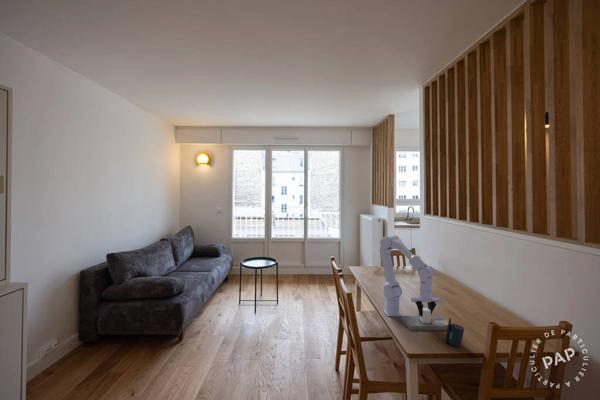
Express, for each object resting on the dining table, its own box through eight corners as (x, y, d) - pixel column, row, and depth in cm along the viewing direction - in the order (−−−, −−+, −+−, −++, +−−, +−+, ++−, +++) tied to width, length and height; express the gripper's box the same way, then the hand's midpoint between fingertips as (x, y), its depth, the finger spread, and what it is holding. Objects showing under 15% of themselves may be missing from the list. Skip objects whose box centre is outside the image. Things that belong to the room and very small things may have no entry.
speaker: (441, 342, 138) (444, 320, 137) (445, 338, 142) (448, 317, 141) (458, 350, 132) (462, 327, 132) (463, 346, 137) (466, 323, 136)
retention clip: (419, 317, 161) (420, 306, 161) (417, 315, 163) (417, 305, 163) (437, 315, 164) (438, 304, 164) (435, 313, 166) (435, 303, 166)
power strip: (400, 319, 163) (400, 314, 163) (440, 319, 164) (440, 314, 164) (410, 330, 150) (410, 324, 150) (453, 330, 151) (453, 325, 151)
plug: (419, 320, 158) (419, 307, 158) (427, 320, 158) (427, 307, 158) (422, 323, 154) (423, 310, 154) (430, 323, 154) (430, 310, 154)
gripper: (415, 292, 152) (414, 318, 152) (443, 292, 152) (442, 319, 152) (409, 287, 159) (409, 313, 159) (436, 288, 159) (436, 313, 159)
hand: (425, 315), depth 156 cm, fingers closed on plug, 4 cm apart
